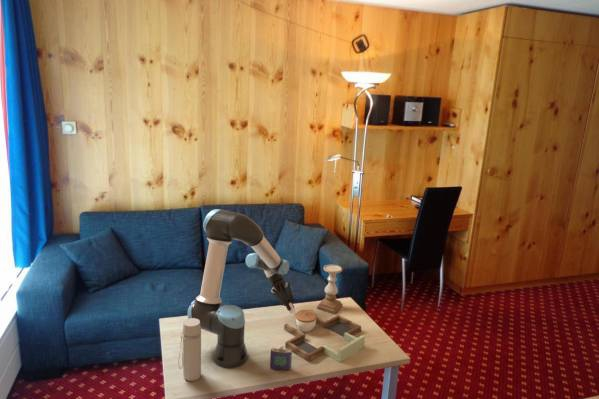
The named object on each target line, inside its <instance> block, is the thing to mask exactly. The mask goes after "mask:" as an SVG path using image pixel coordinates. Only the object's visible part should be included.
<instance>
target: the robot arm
mask: <svg viewBox="0 0 599 399" xmlns="http://www.w3.org/2000/svg"><path fill="white" fill-rule="evenodd" d="M202 223H203V224H202V226H203V227H202V228H203V230H204V232H205V233H206V234H207V235H206V239H207V241H208V246H207V247H208V248H207V255H206V259H205V265H204V271H203V274H202V275H203V276H202V282H201V288H200V294H199V295H197V296H196V297H195V299H194V300H193V301H191V303H190V305H188V306H189V307H188V309H187V319H190V318H196V319H198V320H199V321H200V326H201V330H203V331H206V332H209V333H212V334H214V335H216V336H217V337H216V338H217V340H216V341H217V342H216V346H215V348H214V351H213V354H212V358H213V359H212V360H213V362H214V363H215V365H217V366H218V367H222V368H227V369H231V368H233V369H234V368H237V367H241V366H242V365H243V364H245V363H247V360H248V354H249V353H248V349H247V347H246V343H245V325H246V319H245V313H244V310H243V309H242V308H241V307H239V306H237V305H235V304H230V305H229V304H224V305H222V302H223V301H222V299H221V297H220V293H221V289H222V285H223V284H222V283H223V277H224V272H225V265H226V260H227V255H228V248H229V245H230V244H232V243H233V240H236V241H239V242H241V243H244V244H245V245H246V246H248V247H251V248H252V250H253V253H249V254H247V255H246V257H245V264H246V266H247V267H248V268H249V269H255V268H256V269H259V270H263V272H264V275H265V276H266V278H267V279H268V282H269V283H270V285H271V290H270V293H271V294H272V295H273V296H274V298H275V299H276V300H277V301H278V303H279V304H280V305H281V306H284V307H285V308H286V310H287V311H288V312H289V314H290V315H291V317H292V318H293V317H294V316H295V315H296V313H297V311H296V309H295V306H294V304H293V302H294V300H295V299H294V296H293V292H292V288H291V283H290V282H286V281H285V280H284V277H283V276H284V275H286V274H288V272H289V270H290V262H289V260H286V259H284V258H282V257H280V256H279V254H278V252H277V251H276V250H275V249H274V248H273V246H272V245H271V244H270V242H269V241H268V240H267V239H266V237H265V235H264V231H263V229H262V228H261V227H260V226H259V225H258V224H257V223H256V222H255V221H254V220H253V219H252V218H250V217H249V216H247V215H246V214H242V213H241V212H239V213H238V212H233V211H230V210H225V209H218V208H217V209H215V208H214V209H212V210H210V211H209V212H208V213H207V214H206V216H205V218H204V220H203V222H202ZM295 317H296V316H295Z"/></svg>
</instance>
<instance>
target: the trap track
mask: <svg viewBox="0 0 599 399" xmlns="http://www.w3.org/2000/svg"><path fill="white" fill-rule="evenodd" d="M315 325H317V326H319V327H320V328H322V329H324V330H326V329H328V330H330V331H332V332H333V333H335V334H338V335H340V336H342V337H343V340H345V341H347V342H348V343H346V344H344V345H342V346H341V347H340V348H338V350H337V351H336V350H334V349H332V348H330V347H329V346H327V345H325V344H323V345H321V346H319V347H315V346H314V345H312V344H310V343H309V342H307V341H305V340H306V334H305V332H302V331H300V330H299V329H298V328H295V327H293V326H292V325H290V324H288V323H285V324H283V330H284V331H285V332H287V333H288V334H290V335H292V336H293V337H292V338H291V339H288V340H287V341H285V342H284V344H285V346H284V348H285V349H286V350H288V349H290V350H292V354H294V355H296V356H297V357H299V358H301V359H303V360H304V361H305V362H307V363H310V362H311V361H313V360H315V359H316V358H319V357H320V356H322V355H323V354H325V355H326V356H328V357H330V358H332V359H333V360H335V361H337V362H338V363H341V362H344V361H345V360H346V359H348V358H350V357H351V356H353V355H354V354H355V353H357V352H359V351H361V350H362V349H364V346H365V339H366V335H364V334H361V335H360V336H358V337H356V335H358V334H359V333H361V331H362V326H361V324H360V325H359V324H358V323H356V322H353V321H351V320H349V319H348V318H346V317H343V316H341V315H340V314H337V315H335V316H334V317H331V318H330V319H327V320H326V321H325V320H324V319H321V318H319V317H317V319H316V324H315Z"/></svg>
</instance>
